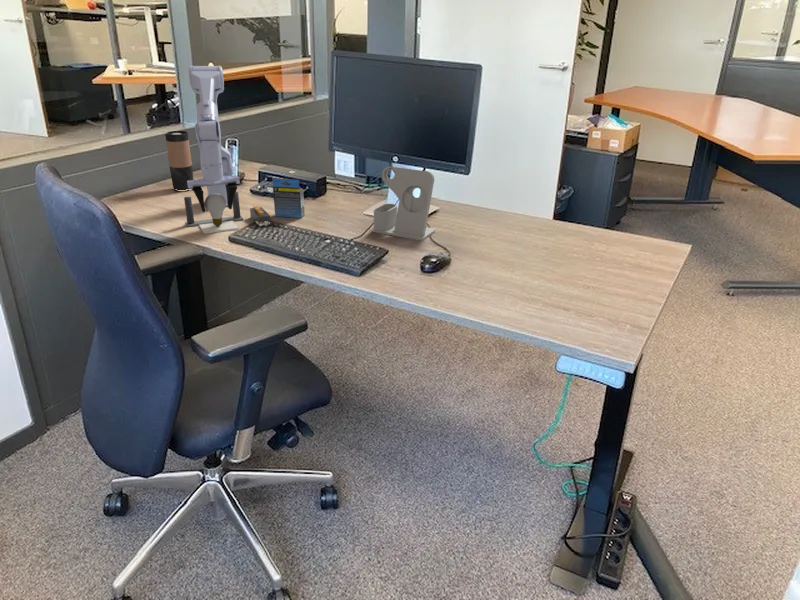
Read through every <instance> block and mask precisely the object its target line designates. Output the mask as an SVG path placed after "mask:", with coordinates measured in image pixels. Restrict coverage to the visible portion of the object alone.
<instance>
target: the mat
mask: <svg viewBox="0 0 800 600" xmlns="http://www.w3.org/2000/svg"><path fill="white" fill-rule="evenodd" d="M199 228H200V229H201V231H202V233H203V234H204V235H206V234H212V233H213V234H214V233H220V232H230V231H235V230H236V231H237V230H239V226H237V224H236V222H235V221H225V222H222V224H221V225H220V226H216V225H214V224H213V223H209V224H201V225H199Z"/></svg>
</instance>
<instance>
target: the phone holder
mask: <svg viewBox="0 0 800 600" xmlns="http://www.w3.org/2000/svg"><path fill="white" fill-rule="evenodd" d="M389 171H393V172H394V176H393V177H392V178H389V177H388V173H389ZM381 173H382V174H381V179H382V182H383V183H385V184H386V186H387V187H388V188H389V189H390V190H391V191H392V192H393V194H394V195H396V197H397V198H398V200H399V201H398V206H397V204H395V203H385V204H382V205H380V206H379V207H376V208H374V209H373V228H372V232H373V233H377V234H383V235H388V236H394V237H399V238H404V239H411V240H415V241H416V240H417V241H424V240H426V239H427V238H429V237H430V236H432V235H433V234H434V233H436V229H435V228H433V227H427V224H428V218H429V213H430V208H431V207H430V206H431V201H432V196H433V190H434V183H435V175H434V174H433V173H432V172H430V171H427V170H421V169H420V170H419V169H412V168H411V169H410V168H404V167H395V166H386V167H385V168H383V170H382V172H381ZM415 189H419V190H420V195H419V196H418V197H415V196H414V193H413V192H414V190H415Z"/></svg>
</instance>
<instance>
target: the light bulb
mask: <svg viewBox="0 0 800 600" xmlns="http://www.w3.org/2000/svg"><path fill="white" fill-rule="evenodd" d="M204 205H205V209H206V210H207V211H208V212H209V213H210V214H209V215H210V217H211V219H212V220H213V224H214V225H216V226H220V225H221V224H222V218H223V214H224V210H225V208H226V207H227V206H226V201H225V199H224V197H223V196H222V195H220V194H218V193H212V194H210V195H208V194H207V196H206V198H205V199H204Z"/></svg>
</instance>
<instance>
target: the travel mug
mask: <svg viewBox="0 0 800 600" xmlns="http://www.w3.org/2000/svg"><path fill="white" fill-rule="evenodd" d="M164 135H165V144H166V150H167V151H166V152H167V157H168V166H169V172H170V178H171V182H172V188H174V189H177V190H186V189H189V188H188V185H187V181H190V180H194V174H193V162H192V161H193V160H192V156H191V155H192V154H191V149H190V148H191V147H190V140H189V132H188V131H186V130H185V131H184V130H170V131H167V132H166V133H165V134H164ZM174 189H173V190H174Z"/></svg>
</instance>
